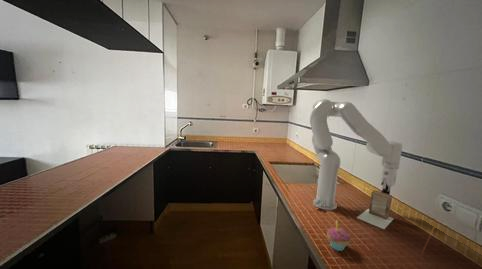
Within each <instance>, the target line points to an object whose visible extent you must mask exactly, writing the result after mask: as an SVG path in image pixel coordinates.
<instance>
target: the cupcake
mask: <svg viewBox="0 0 482 269" xmlns="http://www.w3.org/2000/svg"><path fill="white" fill-rule="evenodd" d="M338 226H339V221H338V219H336V220H335V227H331V228H329V229H327V231H326V237H327V239H328V240H329V244H330V247H331V248H332V249H334V250H335V251H339V252H342V251H344V249H345V248H346V247H347V245H350V243H351V236H350V234H348V232H347V231H345V229H344V228H343V229H342V228H340V227H338Z"/></svg>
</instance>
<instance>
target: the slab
mask: <svg viewBox="0 0 482 269" xmlns="http://www.w3.org/2000/svg"><path fill="white" fill-rule="evenodd" d="M392 199H393V195H392V194H390V195H389V194H386V193H383V192H382V191H379V190H375V189H374V190H372V191H371V194H370V203H369V208H368V209H369V213H370V214H373V215H375V216H378V217H380V218H383V219H386V220H387V219H388V218H389V217H390V214H391V213H390V212H391V205H392Z"/></svg>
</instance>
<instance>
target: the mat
mask: <svg viewBox="0 0 482 269" xmlns="http://www.w3.org/2000/svg"><path fill="white" fill-rule="evenodd" d="M356 219H358V220H361V221H363V222H366V223H368V224H370V225H373V226H375V227H377V228H380V229H383V230H385V229H386V228H387V227H388V226H389V225H390V224H391V223H392V221H393V220H394V219H395V218H393V217H391V216H389V218H388V219H387V220H386V219H383V218H380V217H378V216H375V215H373V214H370V213H369V208H367V209H366V210H365V211H363V212H362V213H360V214H359V215H358V216H357V217H356Z"/></svg>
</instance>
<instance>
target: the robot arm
mask: <svg viewBox="0 0 482 269" xmlns="http://www.w3.org/2000/svg"><path fill="white" fill-rule="evenodd" d="M312 105H313V106H312V110H311V111H312V112H311V113H310V117H309V118H310V119H309V124H310V128H311V132H312V137H311V142H312V146H313V149H314V151H315V156H316V157H317V160H318V161H319V162H320V166H319V171H318V180H317V189H316V197H315V198H314V199H313V201H312V205H313V206H315V207H317V208H319V209H321V210H326V211H334V210H336V209H337V207H338V205H337V204H336V203H335V199H336V191H337V190H336V189H337V184H338V175H339V170H340V167H341V157H340V156H339V155H338V153H337V152H335V151H334V150H333V148H332V146H333V144H334V143H333V142H334V141H333V136H332V134H331V132H330V129H329V125H328V117H336V118H337V117H338V118H341V119H342V121H344V122H345V124H346V125H347V126H348V127H349V129H350V130H351V131H352V132H353V133H354V134H355V135H357V136H359V137H360V138H362V139H363V140H364V141H365V142H366V144H365V145H366V146H365V147H366V150H367V152H370V153H372V154H373V155H376V156H379V157H382V159H381V167H382V172H381V176H380V183H379V184H380V185H381V186H382V190H381V192H383V193H386V194H389V195H391V188H393V187H394V186H395V185H396V183H397V174H398V170H399V169H400V162H401V156H402V150H403V144H402V142H399V141H390V140H388V139H387V138H386V137H385V136H384V135H383V134H382V133H381V132H380V131H379V130H378V129H377V128H376V127H374V126H373V125H372V124H371V123H370V122H369V121H368V120H367V119H366V118H365V116H364V115H363V114H362V113H361V112H360V111H359V109H357V107H356V106H355V105H354V104H353V103H352V102H349V101H331V100H330V99H325V98H324V99H318V100H317V101H315V102H314V103H313V104H312Z"/></svg>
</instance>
